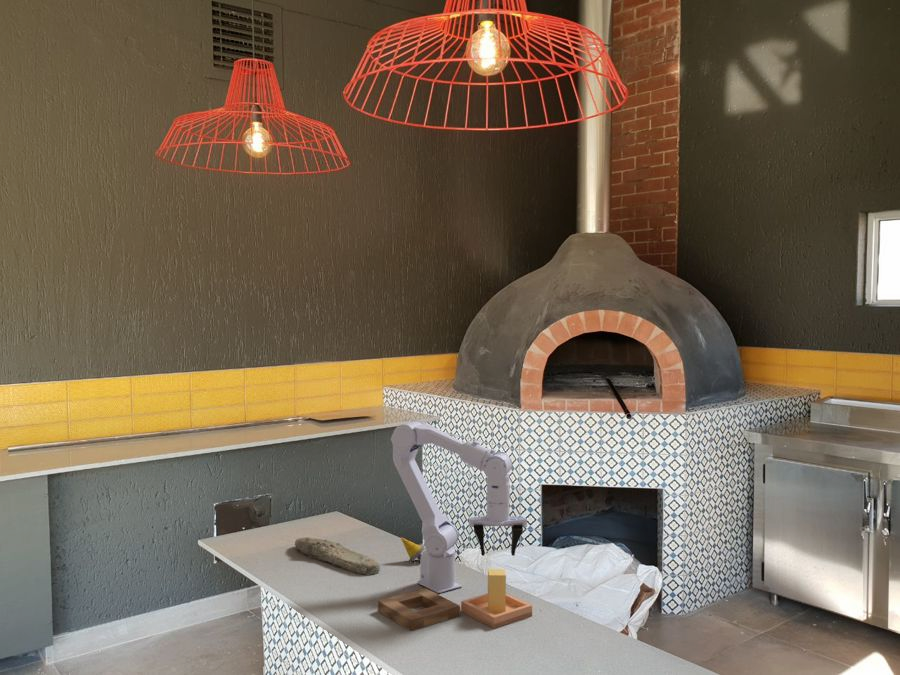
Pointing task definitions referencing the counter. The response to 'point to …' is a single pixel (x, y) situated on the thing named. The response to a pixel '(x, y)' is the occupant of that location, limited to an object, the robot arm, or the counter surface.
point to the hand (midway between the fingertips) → (497, 554)
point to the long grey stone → (337, 555)
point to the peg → (496, 591)
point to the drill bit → (413, 549)
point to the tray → (513, 613)
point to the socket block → (412, 620)
